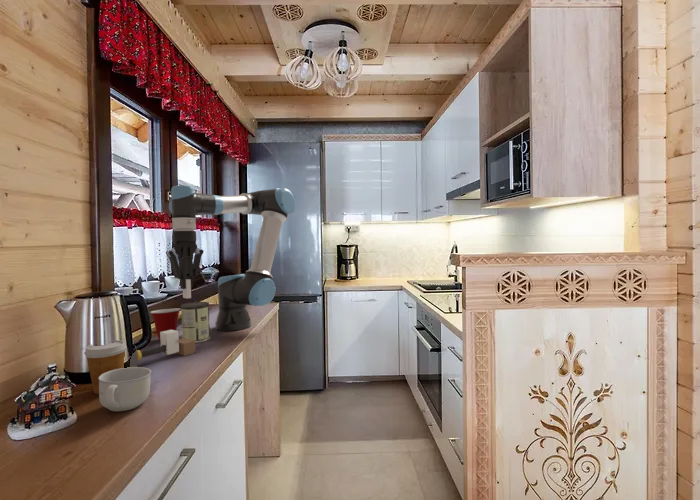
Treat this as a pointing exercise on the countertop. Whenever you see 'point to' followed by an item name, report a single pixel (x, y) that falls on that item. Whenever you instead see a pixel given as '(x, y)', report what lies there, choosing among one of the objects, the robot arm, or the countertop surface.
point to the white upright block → (170, 341)
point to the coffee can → (195, 321)
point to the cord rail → (184, 349)
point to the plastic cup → (165, 320)
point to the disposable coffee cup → (104, 360)
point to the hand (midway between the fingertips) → (187, 297)
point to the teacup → (124, 388)
